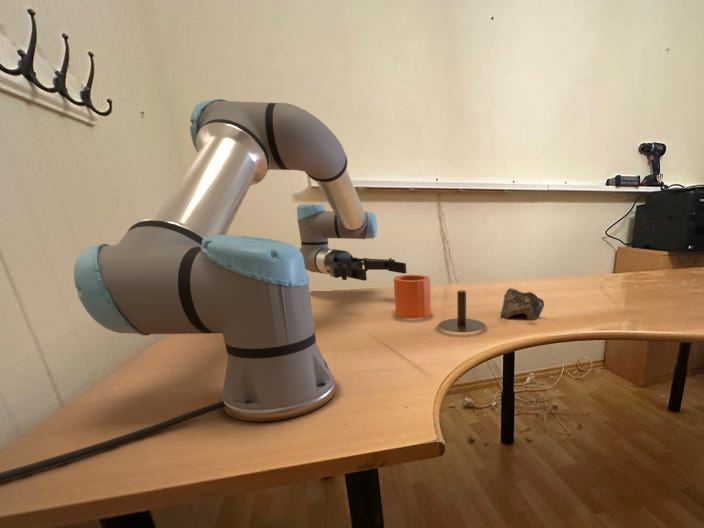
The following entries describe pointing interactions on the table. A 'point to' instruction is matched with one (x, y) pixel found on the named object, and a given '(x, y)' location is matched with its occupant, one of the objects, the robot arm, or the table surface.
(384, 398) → the table surface
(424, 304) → the orange cylinder
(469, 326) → the ring stand
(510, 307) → the fossil
